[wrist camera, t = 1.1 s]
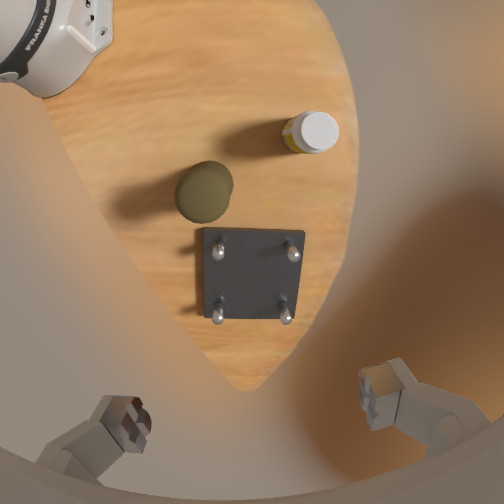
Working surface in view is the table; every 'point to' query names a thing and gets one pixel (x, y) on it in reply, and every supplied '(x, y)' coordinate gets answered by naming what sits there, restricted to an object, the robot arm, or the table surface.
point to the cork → (204, 192)
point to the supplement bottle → (310, 132)
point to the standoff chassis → (251, 273)
